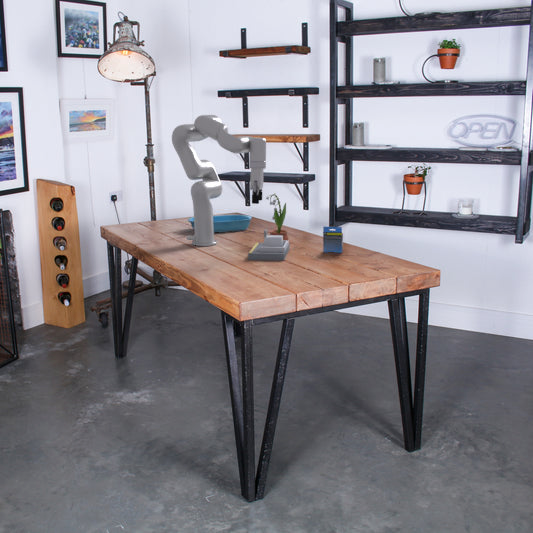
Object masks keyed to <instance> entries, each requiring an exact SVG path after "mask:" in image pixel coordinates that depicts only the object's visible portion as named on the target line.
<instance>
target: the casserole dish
mask: <svg viewBox="0 0 533 533" xmlns="http://www.w3.org/2000/svg"><path fill="white" fill-rule="evenodd" d="M252 218H253V216H252V215H247V214H246V215H245V214H221V215H213V228H214V234H215V232H219V233H230V232H229V231H232V232H241V230H242V231H247V229H248V228H249V226H250V223H251V220H252ZM187 222H189V223H190V225H191V228H192V229H194V216H192V217H190V218H189V219H187ZM194 230H195V229H194Z"/></svg>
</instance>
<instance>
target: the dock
mask: <svg viewBox="0 0 533 533" xmlns="http://www.w3.org/2000/svg"><path fill="white" fill-rule="evenodd" d="M289 251H290V241H289V240H288V241H283V246H282V247H264V242H255V244H254V245H253V247H252V248H251V249H250V250H249V252H248V255H247V257H248V261H285V259H286V257H287V255H288V253H289Z"/></svg>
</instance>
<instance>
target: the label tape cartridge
mask: <svg viewBox="0 0 533 533" xmlns="http://www.w3.org/2000/svg"><path fill="white" fill-rule="evenodd" d="M322 230H323V232H322V236H323V237H322V241H323V243H322V246H323V249H322V251H323V253H328V252H334V253H336V254H342V253H343V252H344V233H343V229H342V226H323V229H322ZM334 253H333V254H334Z"/></svg>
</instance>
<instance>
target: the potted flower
mask: <svg viewBox="0 0 533 533" xmlns="http://www.w3.org/2000/svg"><path fill="white" fill-rule="evenodd" d="M273 196H274V197H273ZM272 197H273V200H272ZM265 199H266V200H269V206H271V205H272V206H274V208H273V211H274V212H273V216H272V218H271V219H272V220H273V221H274V222H275V224H276V226H277V229H274V230H269V235H283V241H289V235H288V231H287V230H285V229H282V226H283V224H284V221H285V218H286V214H287V202H284V205H283V207H282V206H281V201H280V198H279V197H278V195H277V194H276V193H274V194H271V195H269V196H266V198H265ZM277 205H278V207H279V209H278V207H276V206H277ZM281 207H282V208H281ZM278 210H279V211H278Z"/></svg>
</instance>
